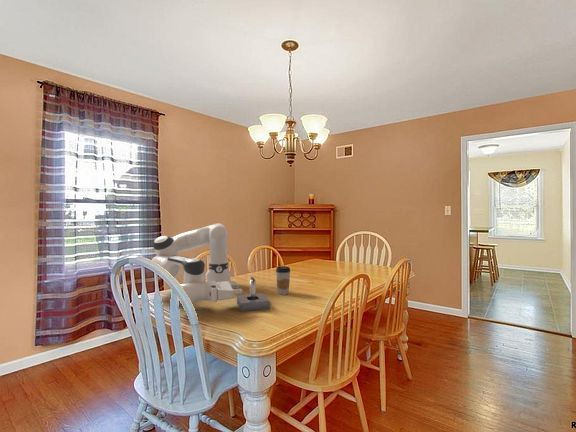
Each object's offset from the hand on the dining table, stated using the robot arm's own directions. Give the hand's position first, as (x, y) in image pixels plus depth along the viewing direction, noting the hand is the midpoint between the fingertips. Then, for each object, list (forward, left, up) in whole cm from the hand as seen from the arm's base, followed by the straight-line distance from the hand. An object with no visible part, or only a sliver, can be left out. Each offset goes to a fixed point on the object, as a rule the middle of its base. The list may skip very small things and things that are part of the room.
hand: (240, 288), depth 152 cm
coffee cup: (-18, +27, -10) cm, 34 cm away
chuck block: (0, +6, -9) cm, 11 cm away
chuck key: (0, +6, -10) cm, 11 cm away
